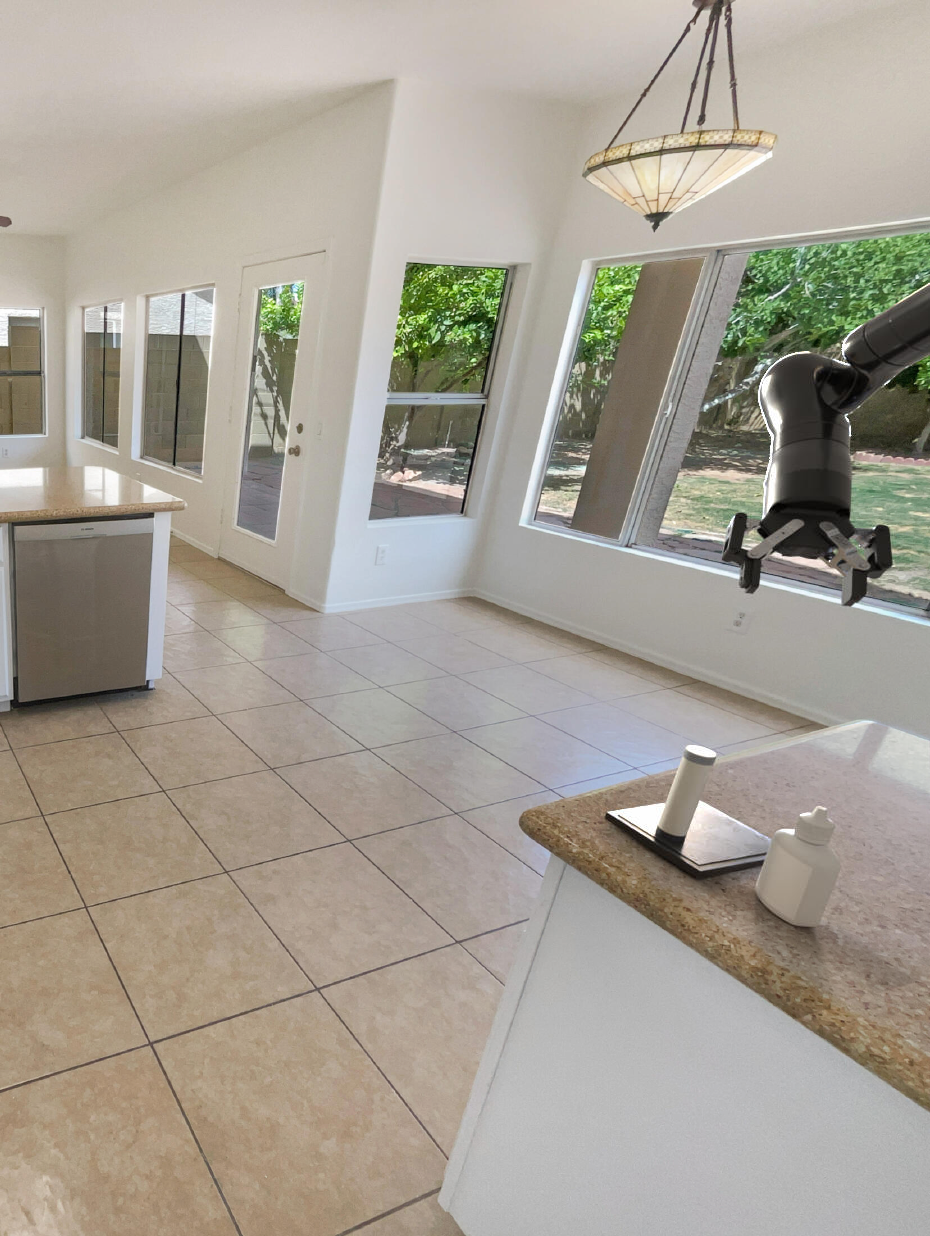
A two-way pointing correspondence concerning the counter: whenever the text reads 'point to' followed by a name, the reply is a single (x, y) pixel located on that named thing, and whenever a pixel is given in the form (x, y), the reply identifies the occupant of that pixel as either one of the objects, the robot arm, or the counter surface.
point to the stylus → (685, 792)
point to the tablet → (697, 840)
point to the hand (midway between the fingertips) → (800, 596)
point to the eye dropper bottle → (800, 870)
